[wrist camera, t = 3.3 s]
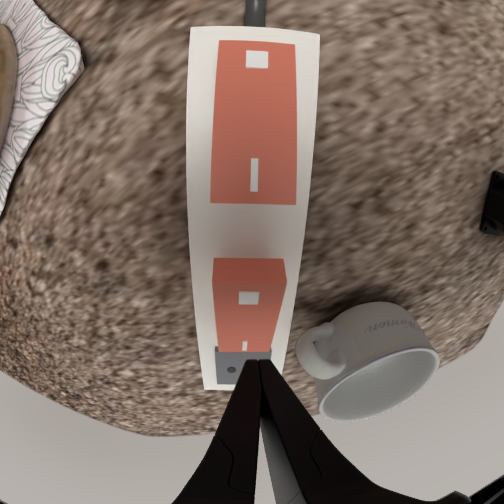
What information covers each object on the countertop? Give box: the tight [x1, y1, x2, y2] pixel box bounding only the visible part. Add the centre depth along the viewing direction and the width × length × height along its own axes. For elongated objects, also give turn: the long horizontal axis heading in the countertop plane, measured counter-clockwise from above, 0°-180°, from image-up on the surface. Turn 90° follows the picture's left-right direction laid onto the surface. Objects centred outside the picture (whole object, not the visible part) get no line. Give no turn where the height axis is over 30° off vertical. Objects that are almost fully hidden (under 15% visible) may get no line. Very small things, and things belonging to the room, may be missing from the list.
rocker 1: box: [210, 40, 297, 205], centre depth 12 cm, size 4×8×2 cm, turn 178°
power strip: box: [186, 0, 320, 390], centre depth 17 cm, size 7×34×4 cm, turn 178°
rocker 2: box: [212, 258, 287, 352], centre depth 17 cm, size 4×8×2 cm, turn 178°
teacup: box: [295, 302, 440, 422], centre depth 21 cm, size 14×11×8 cm
